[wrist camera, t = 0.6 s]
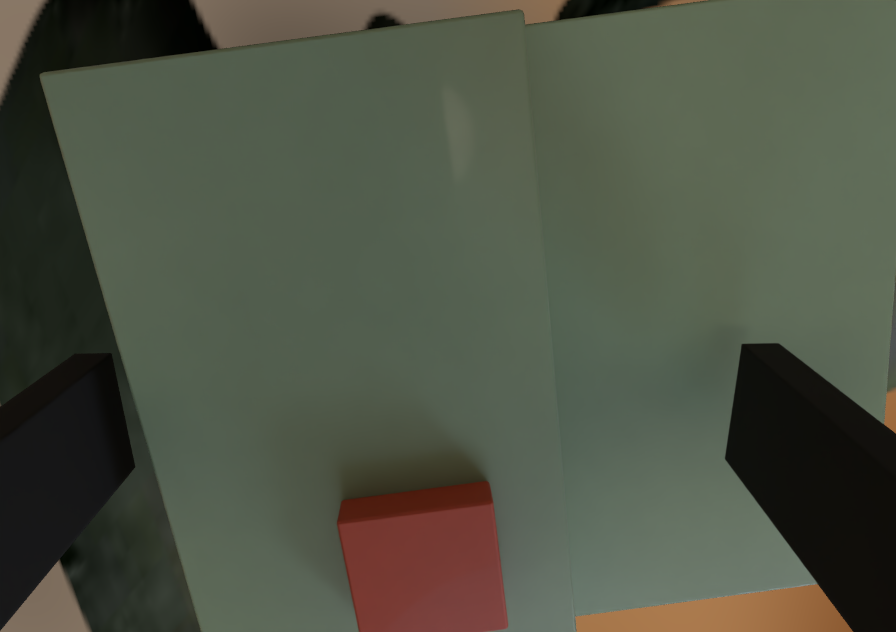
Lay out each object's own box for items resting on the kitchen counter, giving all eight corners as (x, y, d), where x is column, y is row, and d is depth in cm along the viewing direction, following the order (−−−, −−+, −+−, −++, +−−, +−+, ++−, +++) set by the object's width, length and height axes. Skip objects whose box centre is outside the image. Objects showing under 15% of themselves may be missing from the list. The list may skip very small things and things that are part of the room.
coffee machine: (294, 108, 31) (5, 68, 10) (616, 66, 32) (1057, -72, 10) (343, 372, 35) (218, 766, 14) (629, 334, 36) (962, 666, 14)
